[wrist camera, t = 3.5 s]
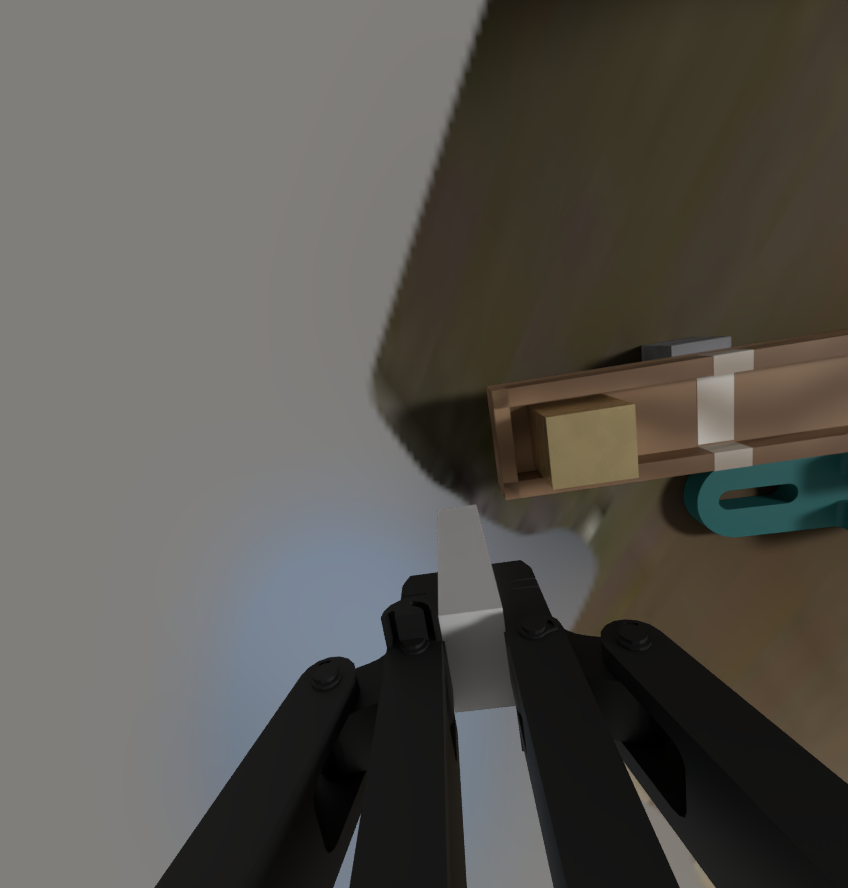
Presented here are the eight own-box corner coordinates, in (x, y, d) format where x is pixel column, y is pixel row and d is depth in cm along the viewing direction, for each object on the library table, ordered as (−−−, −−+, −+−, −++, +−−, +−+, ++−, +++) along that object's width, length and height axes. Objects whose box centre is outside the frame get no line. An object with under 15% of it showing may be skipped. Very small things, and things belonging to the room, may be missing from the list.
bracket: (906, 429, 35) (1038, 453, 27) (897, 506, 36) (1020, 549, 29) (682, 456, 36) (747, 487, 28) (682, 529, 38) (744, 577, 30)
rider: (527, 405, 29) (545, 417, 24) (601, 393, 29) (635, 404, 24) (534, 466, 30) (552, 489, 25) (606, 455, 30) (638, 477, 25)
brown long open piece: (478, 371, 35) (490, 379, 27) (866, 309, 33) (996, 298, 25) (492, 475, 37) (506, 510, 29) (859, 422, 35) (977, 445, 27)
